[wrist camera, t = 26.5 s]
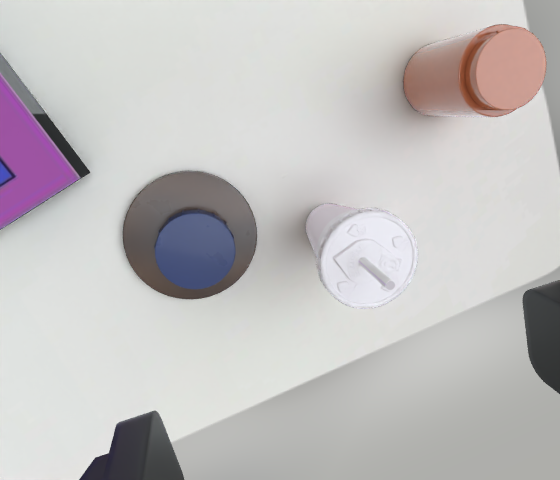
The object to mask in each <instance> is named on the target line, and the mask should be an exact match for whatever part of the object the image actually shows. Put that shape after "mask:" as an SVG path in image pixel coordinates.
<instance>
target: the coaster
mask: <svg viewBox="0 0 560 480" xmlns="http://www.w3.org/2000/svg"><path fill="white" fill-rule="evenodd" d="M198 209H199V210H204V211H208V212H211V213H214V214H215V215H216V216H218V217H219V218H221V219H222V220H223V221H224V222H226V223H227V226H228V227H229V229H230V231H231V233H232V235H233V236H234V243H235V251H236V254H235V259H234V263H233V265H232V267H231V269H230V271H229V272H228V274H227V275H226V276H225V277H224V278H223V279H222V280H221V281H219V282H218V283H216V284H214V285H212V286H210V287H207V288H203V289H187V288H183V287H180V286H178V285H175V284H174V283H172V282H171V281H169V280H168V279H167V278H166V277H165V276H164V275H163V274H162V272H161V271H160V269H159V267H158V265H157V263H156V258H155V249H154V246H155V244H156V241H157V237H158V232H159V229H160V230H161V228H162V227H163V225H164V224H165V223H166V222H167V221H168V218H171V217H173V216H174V215H176V214H178V213H180V212H182V210H184V211H186V210H198ZM256 241H257V229H256V223H255V219H254V216H253V213H252V211H251V209H250V207H249V205H248V203H247V202H246V200H245V199H244V197H243V196H242V195H241V194H240V192H239V191H238V190H237V189H236V188H234V187H233V186H232V185H231V184H229V183H228V182H226V181H225V180H223V179H221V178H219V177H217V176H215V175H212V174H209V173H204V172H199V171H180V172H175V173H171V174H168V175H165V176H162V177H160V178H158V179H156V180H155V181H153V182H152V183H150V184H149V185H147V186H146V187H145V188H144V189H143V190H142V191H141V192H140V193H139V194H138V195H137V197H136V198H135V199H134V201H133V202H132V204H131V206H130V208H129V210H128V212H127V214H126V218H125V221H124V227H123V243H124V249H125V253H126V256H127V258H128V261H129V263H130V265H131V266H132V268H133V270H134V271H135V272H136V274H137V275H138V276H139V277H140V278H141V279H142V280H143V281H144V282H145V283H146V284H147V285H149V286H150V287H151V288H153V289H155V290H156V291H158V292H160V293H163V294H165V295H168V296H171V297H175V298H181V299H199V298H205V297H209V296H212V295H215V294H218V293H220V292H222V291H224V290H226V289H227V288H229V287H230V286H231V285H233V284H234V283H235V282H236V281H237V280H238V279H239V278H240V277H241V276H242V275H243V274H244V272H245V271H246V269H247V268H248V266H249V264H250V262H251V261H252V258H253V255H254V252H255V248H256Z"/></svg>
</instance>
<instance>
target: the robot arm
mask: <svg viewBox="0 0 560 480" xmlns="http://www.w3.org/2000/svg"><path fill="white" fill-rule="evenodd" d="M523 309H524V319H525V327H526V336H527V345H528V353H529V358H530V361H531V364H532V365H533V368H534V369H535V371H536V373H537V374H538V375H539V377H540V378H541V379H542V380H543V381H544V382H545V383H546V384H547V385H549V386H550V387H551V388H553V389H554V390H555V391H557V392H558V393H559V394H560V280H558V281H555V282H551V283H549V284H545V285H542V286H539V287H536V288H533V289H530V290H528V291H526V292H525V293H524V295H523ZM79 480H184V477H183V474H182V470H181V468H180V465H179V463H178V460H177V458H176V455H175V453H174V450H173V447H172V445H171V442H170V440H169V437H168V434H167V432H166V429H165V427H164V424H163V422H162V419H161V417H160V415H159V414H158V412H157V411H152V412H149V413H146V414H143V415H140V416H137V417H134V418H131V419H128V420H125V421H122V422H119V423H118V424H117V425H116V428H115V432H114V436H113V440H112V444H111V447H110V451H109V453H108V454H105V455H102V456H99V457H96V458H95V459H94V460H93V462H92V463H91V464H90V466H89V467H88V468H87V470H86V471H85V473H84V474H83V475H82V477H81V478H80V479H79Z"/></svg>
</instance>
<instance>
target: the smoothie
mask: <svg viewBox="0 0 560 480" xmlns="http://www.w3.org/2000/svg"><path fill="white" fill-rule="evenodd" d="M306 234H307V236H308V239H309V241H310V244H311V246H312V248H313V251H314V253H315V256H316V258H317V264H316V265H317V270H318V274H319V278H320V280H321V282H322V283H323V285H324V287H325V288H326V289H327V290H328V291H329V292H330V293H331V294H332V296H333V297H334V298H336V299H337V300H338V301H340V302H341V303H343V304H345V305H347V306H350V307H353V308H359V309H369V308H375V307H379V306H382V305H384V304H387V303H388V302H390V301H392V300H393V299H395V298H396V297H397V296H399V295H400V294H401V293H402V292H403V291H404V290H405V289H406V287H407V286H408V285H409V283H410V281H411V280H412V278H413V276H414V273H415V270H416V267H417V261H418V249H417V243H416V240H415V237H414V235H413V233H412V231H411V230H410V229H409V227H408V226H407V225H406V224H405V223H404V222H403V221H402V220H400V219H399V218H398V217H396V216H395V215H393V214H392V213H390V212H388V211H385V210H382V209H378V208H361V209H355V208H351V207H346V206H341V205H337V204H331V203H327V204H322V205H320V206H318V207H316V208H315V209H314V210H313V211H312V212H311V213H310V214H309V216H308V218H307V221H306Z"/></svg>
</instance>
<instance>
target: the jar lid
mask: <svg viewBox="0 0 560 480" xmlns="http://www.w3.org/2000/svg"><path fill="white" fill-rule="evenodd" d="M154 249H155V258H156V263H157V265H158V267H159V269H160V271H161V272H162V274H163V275H164V276H165V277H166V278H167V279H168V280H169V281H171V282H172V283H174V284H175V285H178V286H180V287H183V288H187V289H203V288H207V287H210V286H212V285H214V284H216V283H218V282H219V281H221V280H222V279H223V278H224V277H225V276H226V275H227V274H228V272H229V271H230V269H231V267H232V265H233V263H234V259H235V254H236V251H235V243H234V236H233V235H232V233H231V231H230V229H229V227H228V226H227V223H226V222H224V221H223V220H222V219H221V218H219V217H218V216H216V215H215V214H214V213H211V212H208V211H204V210H199V209H198V210H186V211H184V210H182V212H180V213H178V214H176V215H174V216H173V217H171V218H168V221H167V222H166V223H165V224H164V225H163V227H162V228H161V230H160V229H159V232H158V237H157V241H156V244H155V246H154Z"/></svg>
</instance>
